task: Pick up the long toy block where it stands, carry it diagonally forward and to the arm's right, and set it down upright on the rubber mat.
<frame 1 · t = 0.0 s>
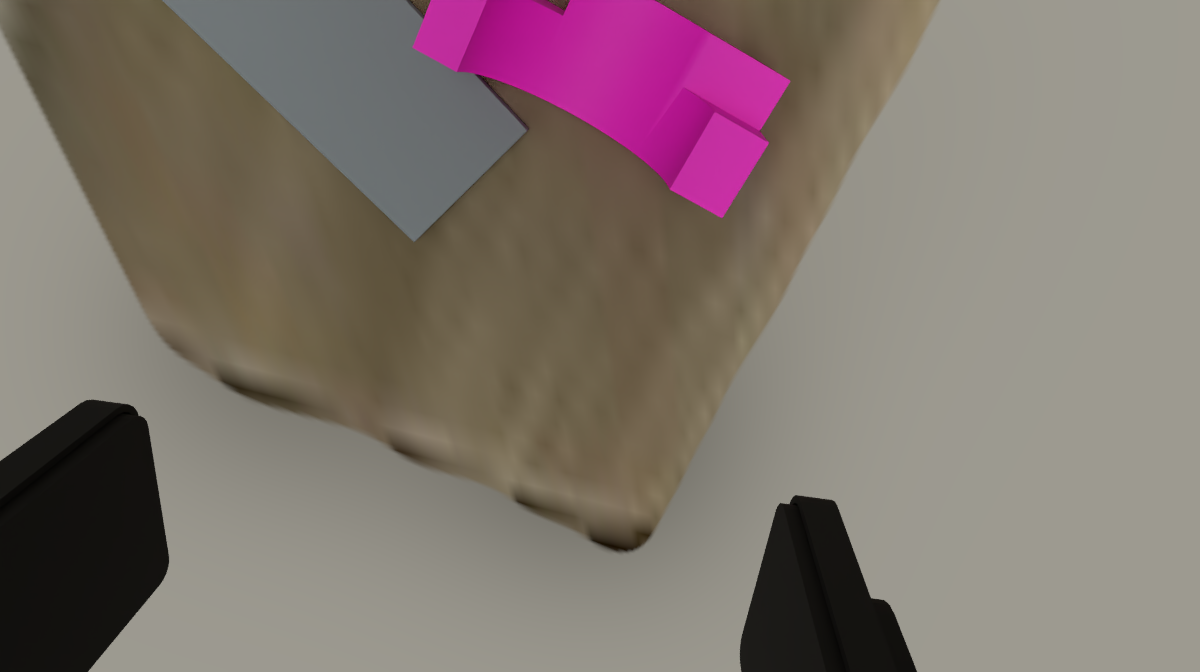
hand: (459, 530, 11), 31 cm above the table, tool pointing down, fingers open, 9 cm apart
mat: (312, 25, 38), on the table
toy block: (614, 54, 38), on the table
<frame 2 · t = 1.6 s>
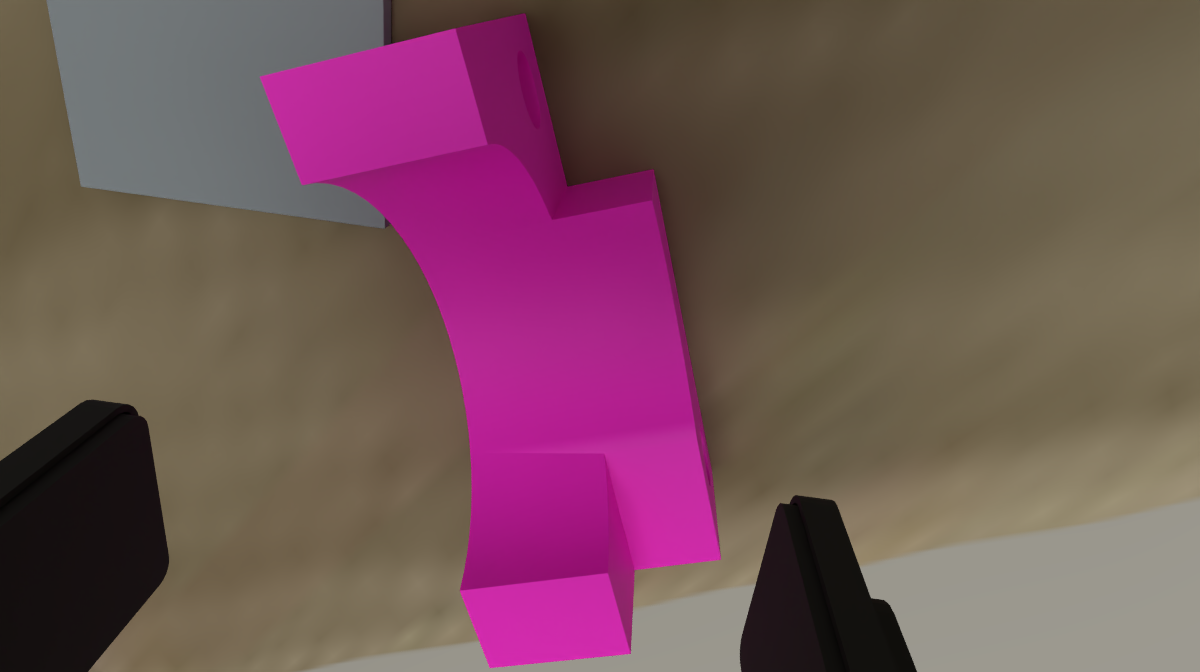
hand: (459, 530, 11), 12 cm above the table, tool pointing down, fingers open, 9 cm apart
toy block: (570, 277, 23), on the table
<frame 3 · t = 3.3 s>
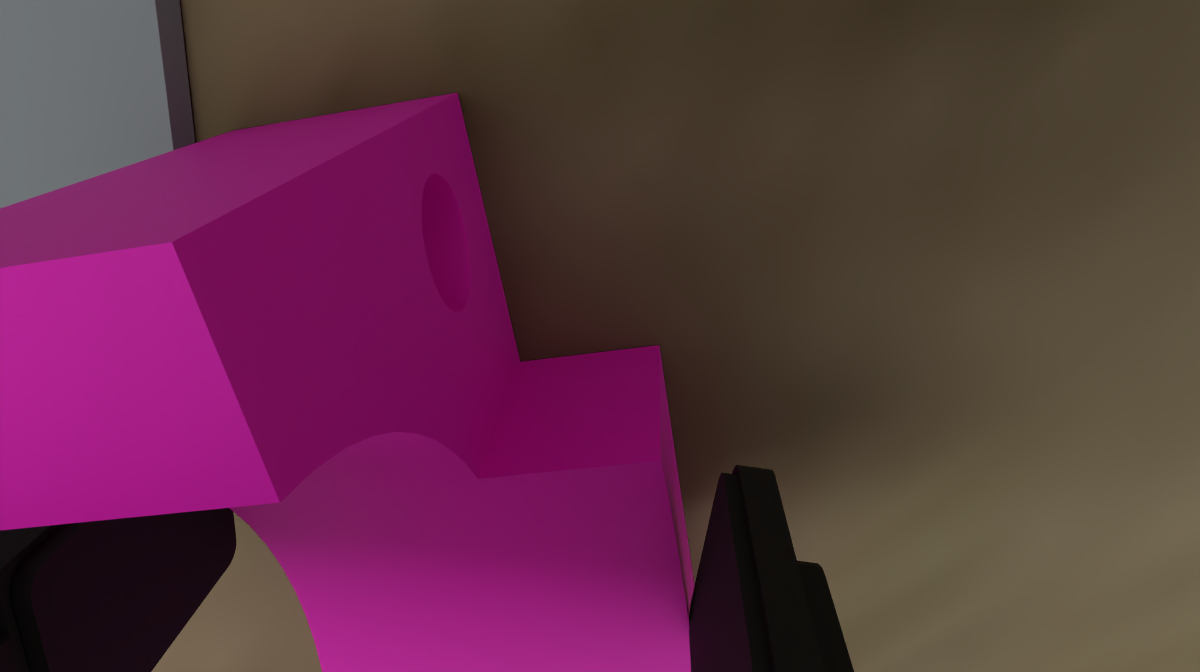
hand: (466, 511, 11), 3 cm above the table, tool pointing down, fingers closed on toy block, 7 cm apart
toy block: (520, 487, 15), on the table, touching gripper
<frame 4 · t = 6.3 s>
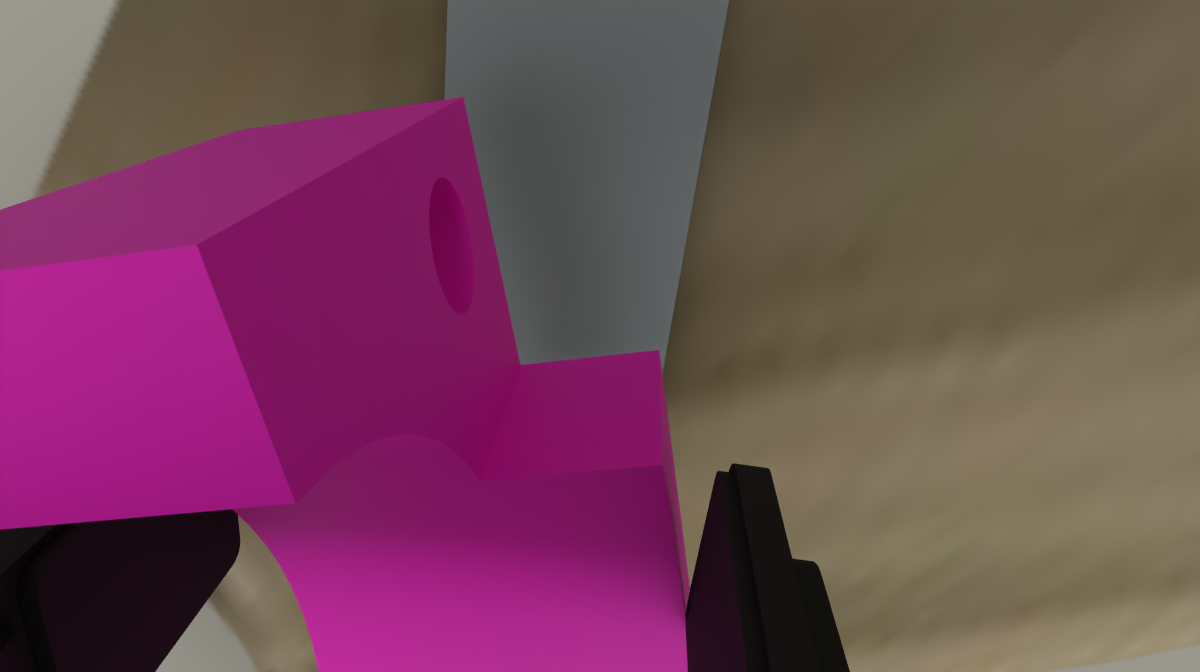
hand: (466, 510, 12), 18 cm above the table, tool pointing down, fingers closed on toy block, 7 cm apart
mat: (566, 207, 28), on the table
toy block: (518, 490, 15), point 15 cm above the table, touching gripper
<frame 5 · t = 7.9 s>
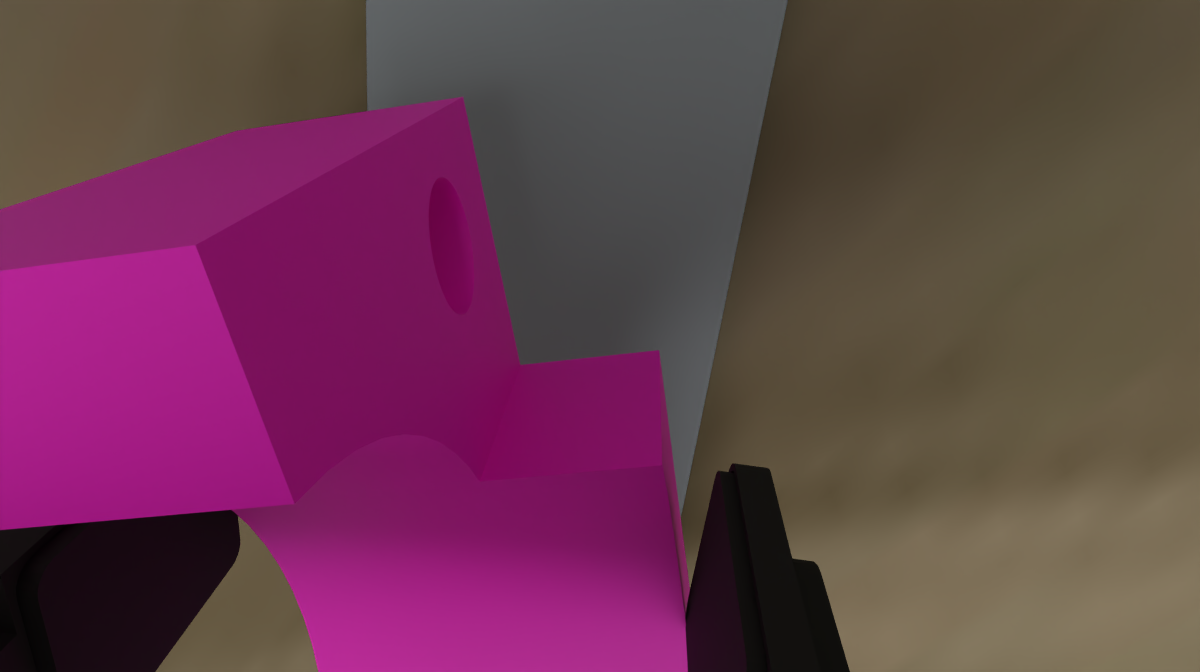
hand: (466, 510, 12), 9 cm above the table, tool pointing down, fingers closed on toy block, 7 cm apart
mat: (547, 296, 20), on the table
toy block: (518, 490, 15), point 6 cm above the table, touching gripper
when the fingers open (4 cm above the table, at t = 9.4 s): toy block stays where it is, resting on mat.
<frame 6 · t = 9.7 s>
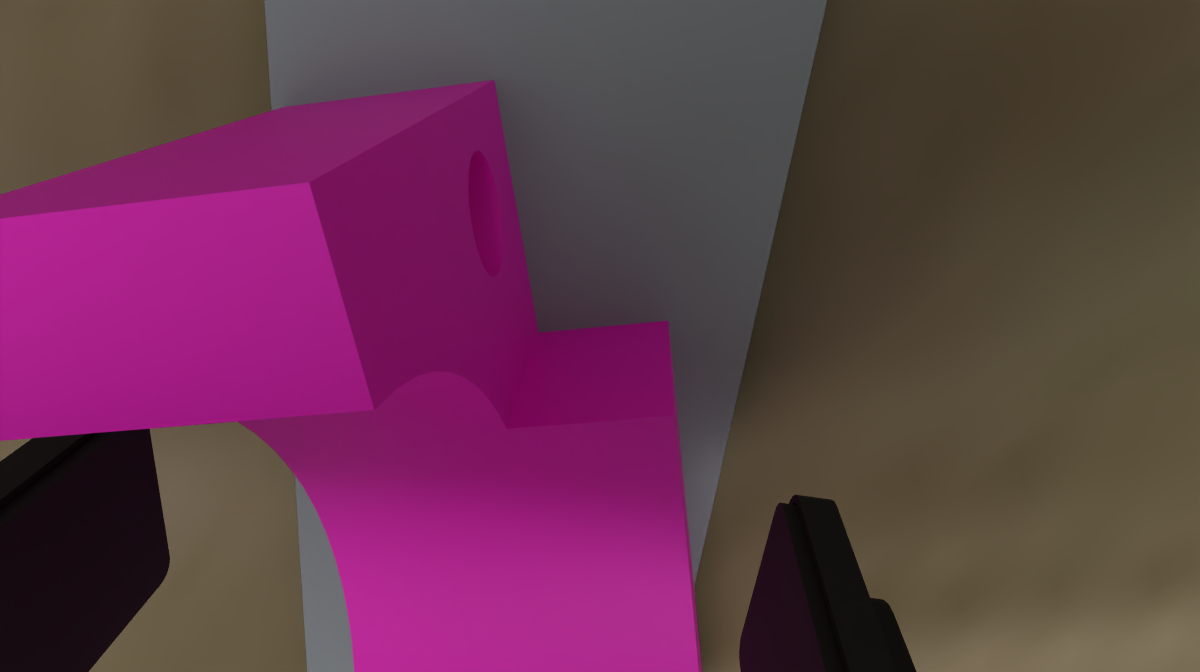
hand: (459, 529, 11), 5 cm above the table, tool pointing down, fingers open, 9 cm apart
mat: (514, 376, 16), on the table
toy block: (532, 452, 16), resting on mat
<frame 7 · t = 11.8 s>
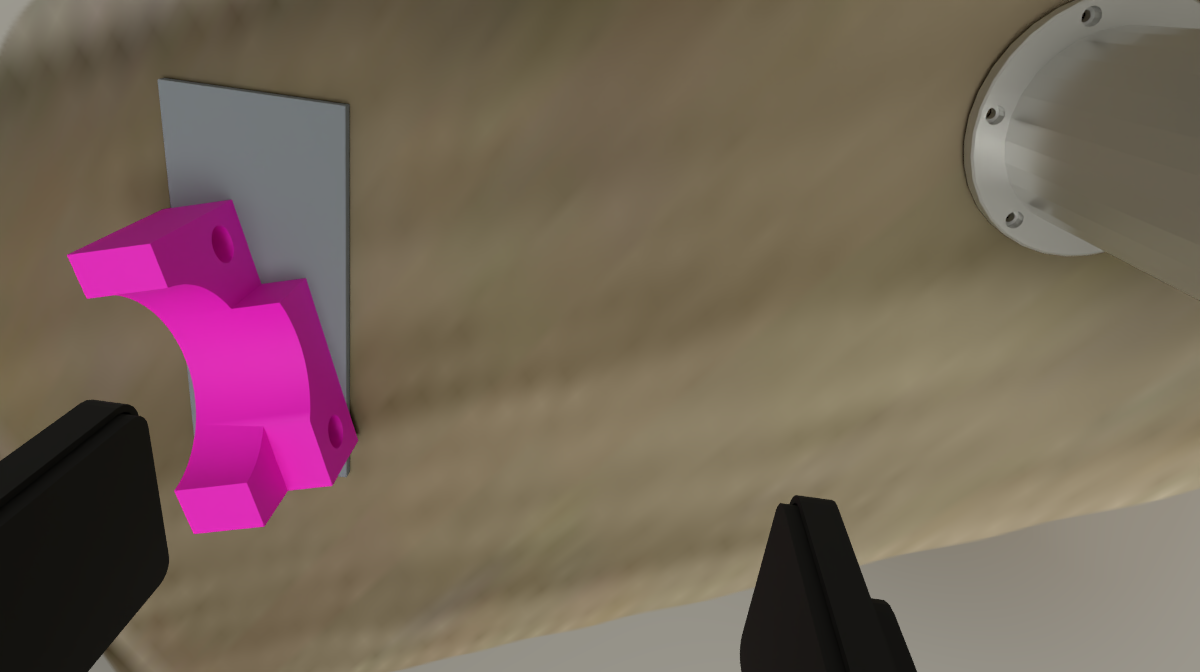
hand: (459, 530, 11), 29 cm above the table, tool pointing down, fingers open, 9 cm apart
mat: (267, 297, 41), on the table
toy block: (268, 331, 42), resting on mat
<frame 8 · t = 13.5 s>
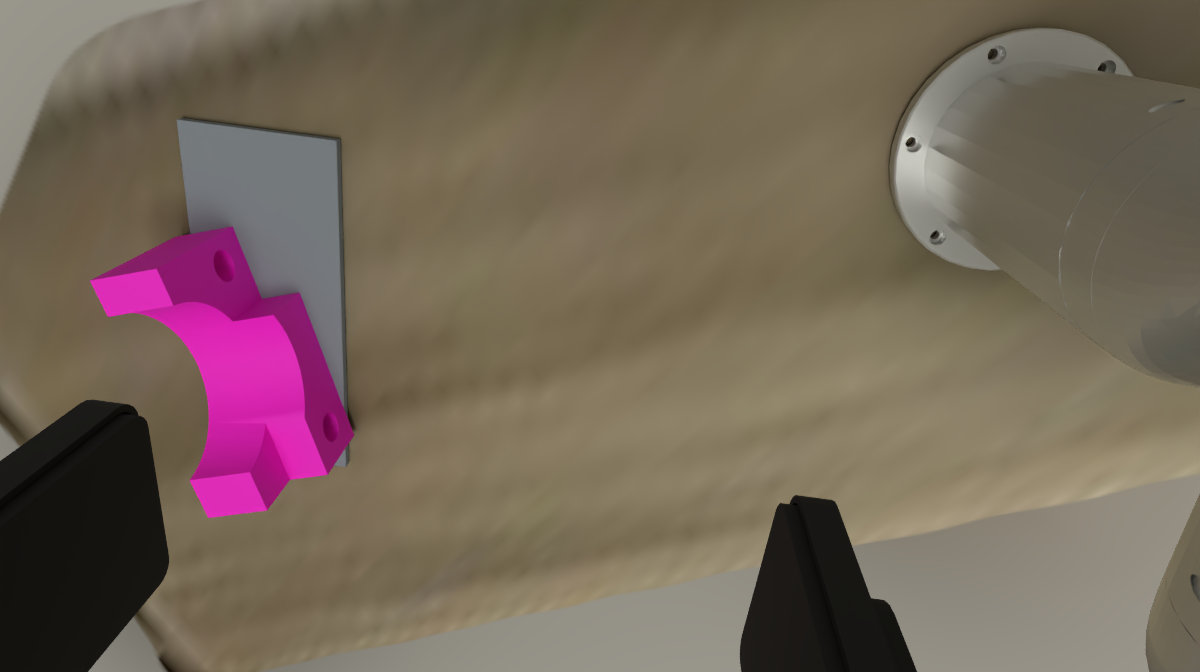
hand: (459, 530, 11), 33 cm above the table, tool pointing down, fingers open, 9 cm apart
mat: (274, 306, 47), on the table
toy block: (271, 340, 47), resting on mat
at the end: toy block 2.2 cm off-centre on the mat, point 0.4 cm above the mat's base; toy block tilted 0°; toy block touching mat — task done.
